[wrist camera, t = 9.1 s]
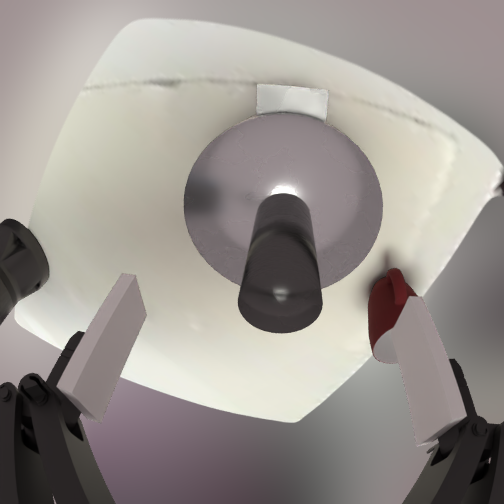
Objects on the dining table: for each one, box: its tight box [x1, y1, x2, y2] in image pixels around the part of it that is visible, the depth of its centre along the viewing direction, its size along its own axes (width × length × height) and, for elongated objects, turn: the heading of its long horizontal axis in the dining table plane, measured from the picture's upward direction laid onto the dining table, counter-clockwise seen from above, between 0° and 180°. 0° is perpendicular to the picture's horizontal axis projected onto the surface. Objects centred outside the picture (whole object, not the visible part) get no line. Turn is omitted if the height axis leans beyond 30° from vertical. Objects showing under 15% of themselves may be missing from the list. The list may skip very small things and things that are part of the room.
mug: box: [368, 268, 418, 363], centre depth 31 cm, size 10×8×10 cm
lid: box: [184, 113, 383, 333], centre depth 18 cm, size 15×15×12 cm
